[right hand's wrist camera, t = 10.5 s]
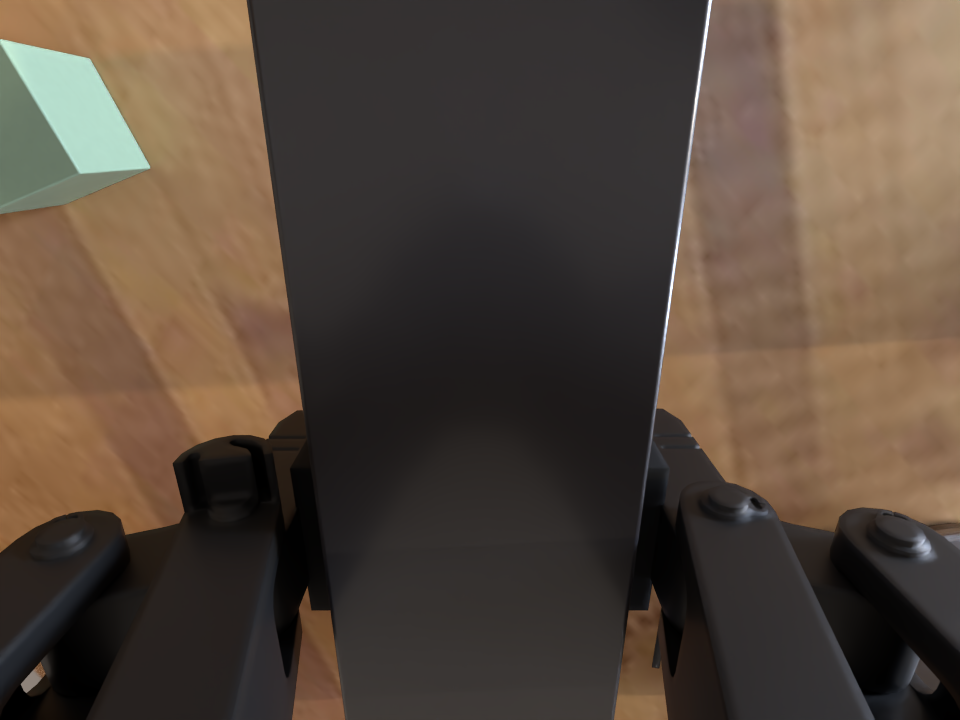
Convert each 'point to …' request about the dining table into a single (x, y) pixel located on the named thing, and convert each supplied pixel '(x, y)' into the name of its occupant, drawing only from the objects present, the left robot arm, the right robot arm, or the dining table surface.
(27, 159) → the green block
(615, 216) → the plank
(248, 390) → the dining table surface
